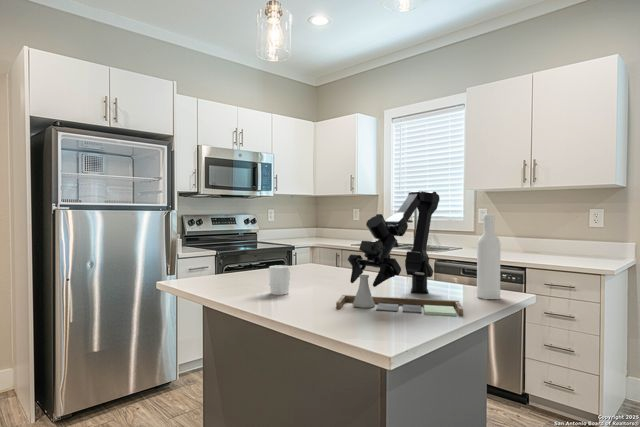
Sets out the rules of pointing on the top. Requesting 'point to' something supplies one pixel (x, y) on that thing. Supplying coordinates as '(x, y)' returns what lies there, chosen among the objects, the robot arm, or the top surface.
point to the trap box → (403, 303)
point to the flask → (363, 294)
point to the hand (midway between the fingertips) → (362, 284)
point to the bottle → (488, 261)
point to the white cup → (279, 279)
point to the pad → (439, 310)
